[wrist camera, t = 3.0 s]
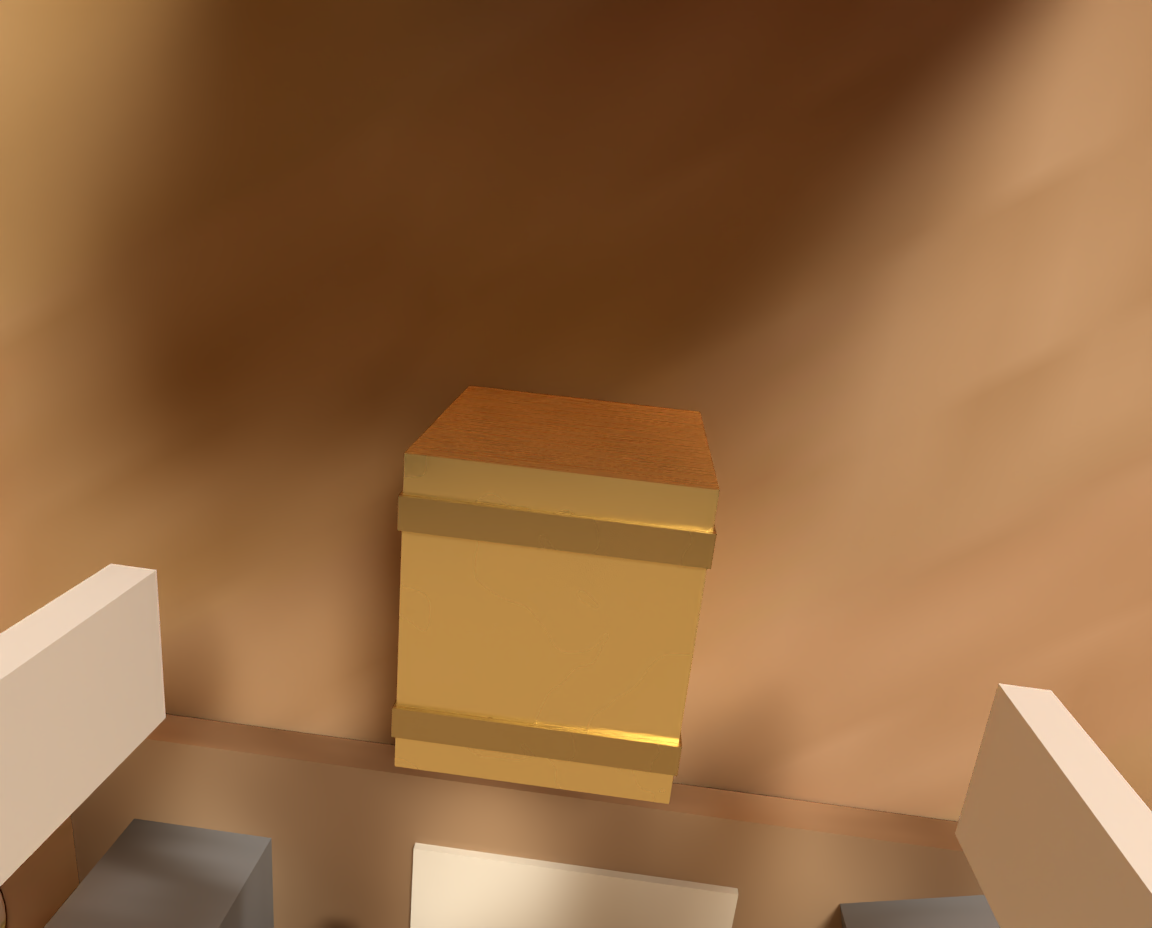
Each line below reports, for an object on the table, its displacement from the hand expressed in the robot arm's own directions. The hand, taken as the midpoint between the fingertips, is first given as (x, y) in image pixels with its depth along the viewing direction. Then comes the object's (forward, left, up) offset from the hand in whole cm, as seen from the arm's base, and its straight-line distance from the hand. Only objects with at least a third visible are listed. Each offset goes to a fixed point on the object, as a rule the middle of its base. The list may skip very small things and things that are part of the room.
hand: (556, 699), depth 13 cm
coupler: (0, 0, -6) cm, 6 cm away
